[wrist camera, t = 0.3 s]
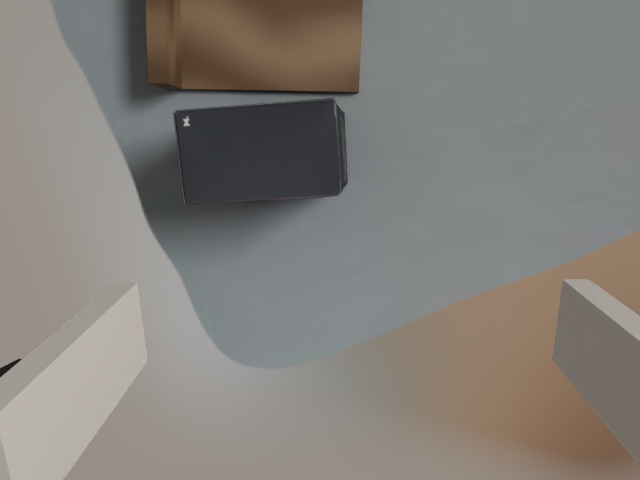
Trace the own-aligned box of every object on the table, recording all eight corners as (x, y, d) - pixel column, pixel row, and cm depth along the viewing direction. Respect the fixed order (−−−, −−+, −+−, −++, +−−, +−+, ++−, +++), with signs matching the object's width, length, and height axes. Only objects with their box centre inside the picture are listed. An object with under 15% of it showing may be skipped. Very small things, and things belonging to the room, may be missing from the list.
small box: (226, 195, 42) (179, 209, 32) (219, 118, 41) (167, 106, 31) (349, 188, 41) (341, 200, 30) (345, 108, 40) (335, 92, 29)
